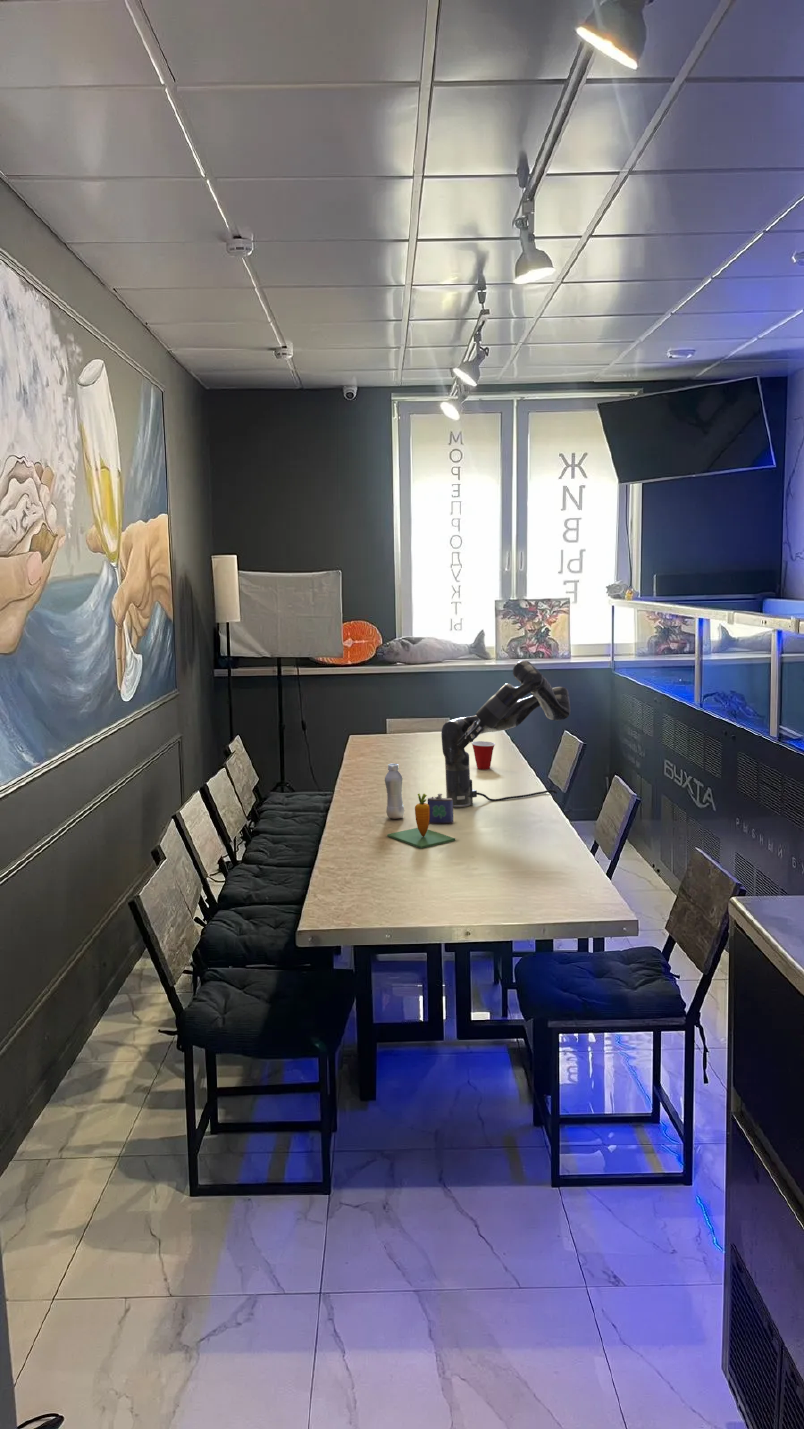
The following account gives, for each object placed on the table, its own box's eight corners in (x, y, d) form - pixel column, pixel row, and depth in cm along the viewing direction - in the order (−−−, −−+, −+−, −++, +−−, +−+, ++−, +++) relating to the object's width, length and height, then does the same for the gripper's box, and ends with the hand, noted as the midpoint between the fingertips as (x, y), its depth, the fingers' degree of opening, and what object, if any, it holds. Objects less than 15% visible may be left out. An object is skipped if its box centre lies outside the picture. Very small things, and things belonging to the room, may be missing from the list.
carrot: (415, 835, 324) (413, 791, 322) (429, 834, 325) (428, 790, 323) (416, 839, 319) (414, 795, 317) (431, 838, 320) (429, 794, 318)
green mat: (420, 829, 335) (420, 826, 335) (455, 840, 318) (455, 838, 318) (387, 836, 327) (387, 834, 327) (420, 848, 311) (420, 846, 311)
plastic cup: (497, 770, 430) (496, 743, 428) (472, 771, 430) (472, 744, 428) (495, 765, 440) (494, 739, 439) (471, 766, 441) (470, 740, 439)
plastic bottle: (402, 820, 348) (400, 766, 345) (384, 820, 349) (382, 766, 346) (406, 816, 354) (404, 762, 351) (388, 815, 356) (386, 762, 353)
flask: (454, 822, 342) (453, 793, 341) (452, 824, 339) (451, 794, 338) (429, 821, 345) (427, 792, 343) (427, 823, 342) (425, 794, 340)
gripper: (501, 722, 311) (467, 757, 314) (501, 715, 325) (468, 749, 328) (484, 706, 311) (450, 742, 313) (484, 700, 325) (452, 735, 327)
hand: (459, 746), depth 321 cm, fingers open, 8 cm apart
